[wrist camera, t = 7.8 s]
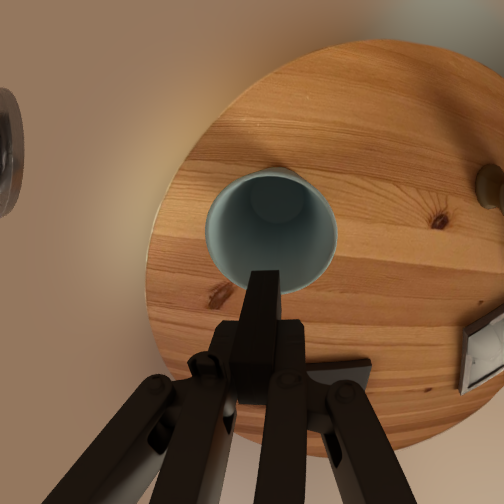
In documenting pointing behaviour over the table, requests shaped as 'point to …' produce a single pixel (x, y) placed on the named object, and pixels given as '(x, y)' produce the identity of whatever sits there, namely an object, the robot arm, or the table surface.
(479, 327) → the picture frame
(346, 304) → the table surface
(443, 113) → the table surface
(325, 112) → the table surface
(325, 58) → the table surface
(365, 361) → the scale
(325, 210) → the cup
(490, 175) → the kendama
